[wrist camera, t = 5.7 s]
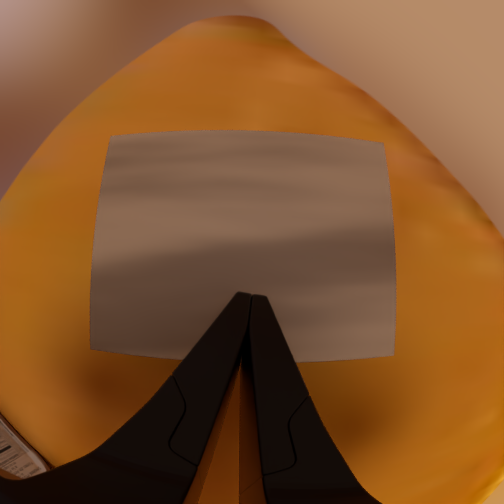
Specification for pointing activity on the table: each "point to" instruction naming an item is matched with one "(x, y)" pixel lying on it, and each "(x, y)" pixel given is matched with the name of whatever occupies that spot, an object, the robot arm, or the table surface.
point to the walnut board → (244, 241)
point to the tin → (18, 453)
